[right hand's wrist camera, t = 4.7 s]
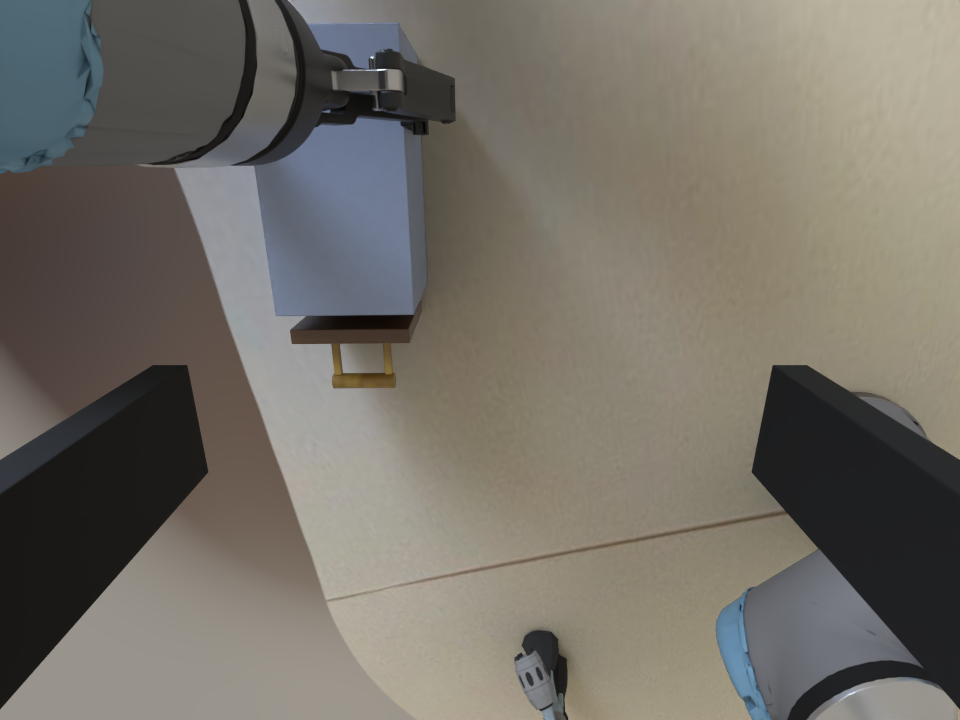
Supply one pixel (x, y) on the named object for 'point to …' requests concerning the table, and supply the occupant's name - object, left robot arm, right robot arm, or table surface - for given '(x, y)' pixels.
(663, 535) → the table surface
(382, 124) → the cabinet
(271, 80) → the left robot arm
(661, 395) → the table surface
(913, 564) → the right robot arm
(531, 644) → the robot
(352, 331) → the drawer
